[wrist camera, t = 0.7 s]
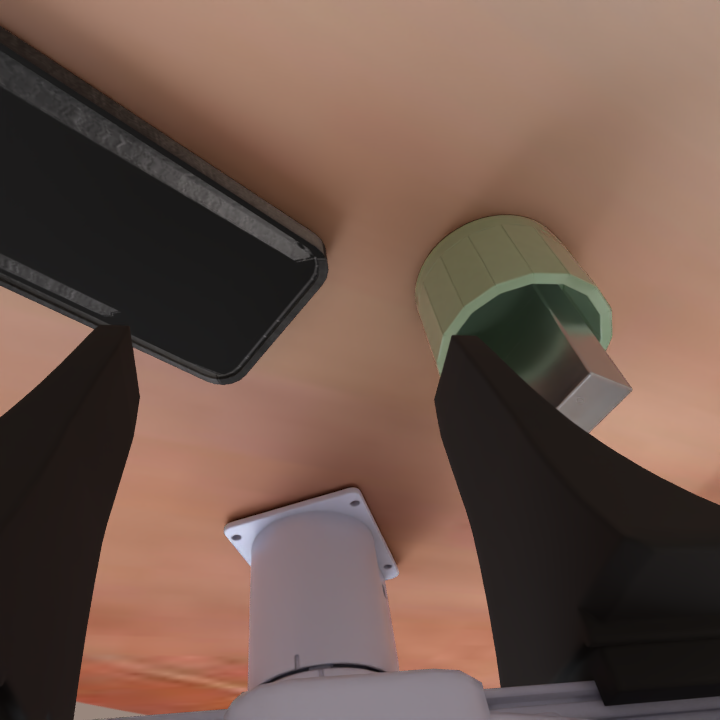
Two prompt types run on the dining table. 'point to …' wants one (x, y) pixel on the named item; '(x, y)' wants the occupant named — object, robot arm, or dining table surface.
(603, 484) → the robot arm
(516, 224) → the cup
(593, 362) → the rectangular block
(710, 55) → the dining table surface
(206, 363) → the phone
